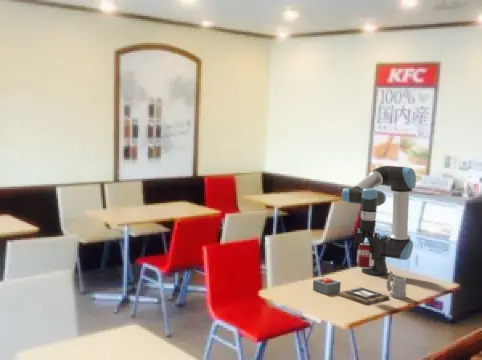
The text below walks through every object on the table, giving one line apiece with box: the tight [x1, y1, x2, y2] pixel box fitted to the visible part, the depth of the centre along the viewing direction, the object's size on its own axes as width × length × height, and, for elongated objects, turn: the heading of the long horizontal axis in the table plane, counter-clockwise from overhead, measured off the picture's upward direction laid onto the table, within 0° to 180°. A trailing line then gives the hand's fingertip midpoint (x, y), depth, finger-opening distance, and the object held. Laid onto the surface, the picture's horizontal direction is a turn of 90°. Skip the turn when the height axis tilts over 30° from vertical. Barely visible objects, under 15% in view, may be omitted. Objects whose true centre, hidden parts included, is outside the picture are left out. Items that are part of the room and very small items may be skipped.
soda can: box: [357, 241, 372, 269], centre depth 297 cm, size 7×7×12 cm
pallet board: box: [337, 287, 390, 306], centre depth 299 cm, size 18×18×2 cm
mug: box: [386, 270, 407, 300], centre depth 304 cm, size 8×12×12 cm, turn 35°
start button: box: [321, 277, 333, 284], centre depth 308 cm, size 5×5×5 cm
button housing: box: [312, 278, 342, 295], centre depth 308 cm, size 10×10×5 cm
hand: (365, 263), depth 298 cm, fingers closed on soda can, 7 cm apart
